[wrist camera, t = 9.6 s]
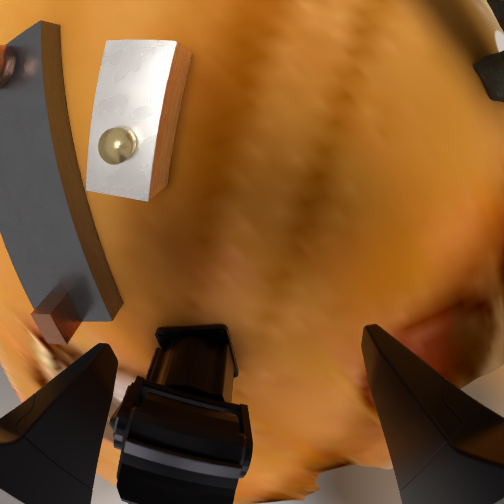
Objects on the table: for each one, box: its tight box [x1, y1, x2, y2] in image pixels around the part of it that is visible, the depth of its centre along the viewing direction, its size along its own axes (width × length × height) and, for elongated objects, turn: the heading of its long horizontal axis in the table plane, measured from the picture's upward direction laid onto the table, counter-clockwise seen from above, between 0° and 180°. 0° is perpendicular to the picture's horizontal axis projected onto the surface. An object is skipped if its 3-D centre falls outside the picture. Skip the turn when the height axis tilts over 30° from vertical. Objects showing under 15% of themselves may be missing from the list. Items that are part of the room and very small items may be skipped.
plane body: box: [0, 21, 123, 345], centre depth 16 cm, size 24×9×6 cm, turn 8°
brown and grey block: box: [86, 40, 192, 202], centre depth 15 cm, size 9×4×5 cm, turn 167°
